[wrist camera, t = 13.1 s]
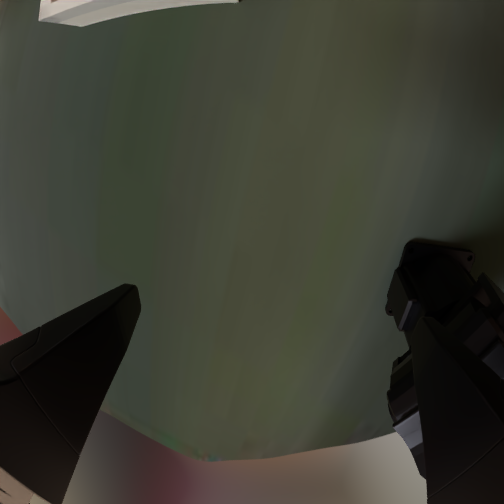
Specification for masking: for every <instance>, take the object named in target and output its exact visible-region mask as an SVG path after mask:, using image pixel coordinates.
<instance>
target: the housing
mask: <svg viewBox="0 0 504 504" xmlns="http://www.w3.org/2000/svg"><path fill="white" fill-rule="evenodd" d="M235 2H239V0H41V5H40V13H39V21H43V22H52V23H60V24H68V25H74V26H81V27H83V26H86V25H90V24H93V23H97V22H101V21H104V20H108V19H113V18H117V17H121V16H126V15H131V14H135V13H141V12H146V11H152V10H158V9H165V8H172V7H180V6H189V5H199V4H213V3H235Z"/></svg>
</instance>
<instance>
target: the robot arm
mask: <svg viewBox="0 0 504 504" xmlns="http://www.w3.org/2000/svg"><path fill="white" fill-rule="evenodd" d="M410 248H413V250H412V251H409V249H410ZM468 256H470V258H468ZM467 258H468V259H467ZM474 259H475V255H474V253H473V252H472V251H470V250H465V249H458V248H451V247H444V246H437V245H430V244H422V243H415V242H409V243H407V244H406V245H405V247H404V250H403V253H402V257H401V260H400V264H399V267H398V268H397V269H396V270H395V272H394V275H393V278H392V281H391V284H390V288H389V291H388V294H387V298H388V301H387V304H386V307H385V310H386V313H387V315H390V316H394V319H395V322H396V325H397V328H398V329H399V331H404V334H405V337H406V340H407V343H408V346H409V350H408V351H407V352H406V353H405V354H404V355H403V356H401V357H398V358H397V359H396V360H395V361H394V362H393V367H392V374H391V382H390V390H388V391H387V400H388V407H389V412H390V415H391V417H392V419H393V421H394V423H393V428H394V429H395V430H396V431H397V433H398V434H399V435H400V436H401V437H402V438H403V439H404V441H405V443H406V444H407V446H408V447H409V449H410V451H411V453H412V455H413V458H414V460H415V463H416V465H417V468H418V470H419V473H420V475H421V476H422V477H424V478H425V479H426V483H427V498H428V499H427V504H504V293H503V292H502V291H501V289H500V288H499V287H498V286H497V285H496V284H495V283H494V282H493V281H492V280H491V279H490V278H489V277H488V276H487V275H486V274H485V273H484V272H482V274H481V275H480V276H479V277H478V281H477V282H476V281H475V280H474V279H473V277H472V276H471V274H470V270H471V267H472V265H473V262H474ZM390 309H391V310H390ZM140 312H141V303H140V298H139V292H138V288H137V286H136V285H132V284H123V285H121V286H119V287H117V288H114V289H112V290H110V291H108V292H106V293H104V294H102V295H100V296H98V297H96V298H94V299H92V300H90V301H88V302H86V303H84V304H82V305H81V306H79V307H77V308H75V309H73V310H71V311H69V312H67V313H65V314H63V315H61V316H59V317H57V318H55V319H53V320H51V321H49V322H47V323H45V324H43V325H42V326H41V327H38V328H36V329H34V330H32V331H30V332H28V333H26V334H24V335H22V336H20V337H18V338H16V339H13V340H11V341H9V342H7V343H4V344H2V345H0V504H30V503H29V502H30V500H31V498H32V496H33V494H35V495H36V496H38V497H40V498H41V499H43V500H45V501H46V502H48V503H50V504H62V502H63V499H64V496H65V494H66V491H67V488H68V485H69V483H70V480H71V478H72V475H73V472H74V470H75V467H76V464H77V462H78V459H79V457H80V456H79V455H80V454H81V452H82V449H83V447H84V444H85V442H86V439H87V437H88V435H89V432H90V430H91V428H92V425H93V423H94V421H95V418H96V416H97V414H98V411H99V409H100V407H101V405H102V402H103V400H104V398H105V396H106V393H107V391H108V389H109V387H110V385H111V383H112V380H113V378H114V376H115V374H116V372H117V370H118V368H119V365H120V363H121V361H122V359H123V357H124V355H125V353H126V351H127V348H128V345H129V343H130V340H131V337H132V334H133V331H134V329H135V326H136V323H137V320H138V318H139V315H140Z"/></svg>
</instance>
